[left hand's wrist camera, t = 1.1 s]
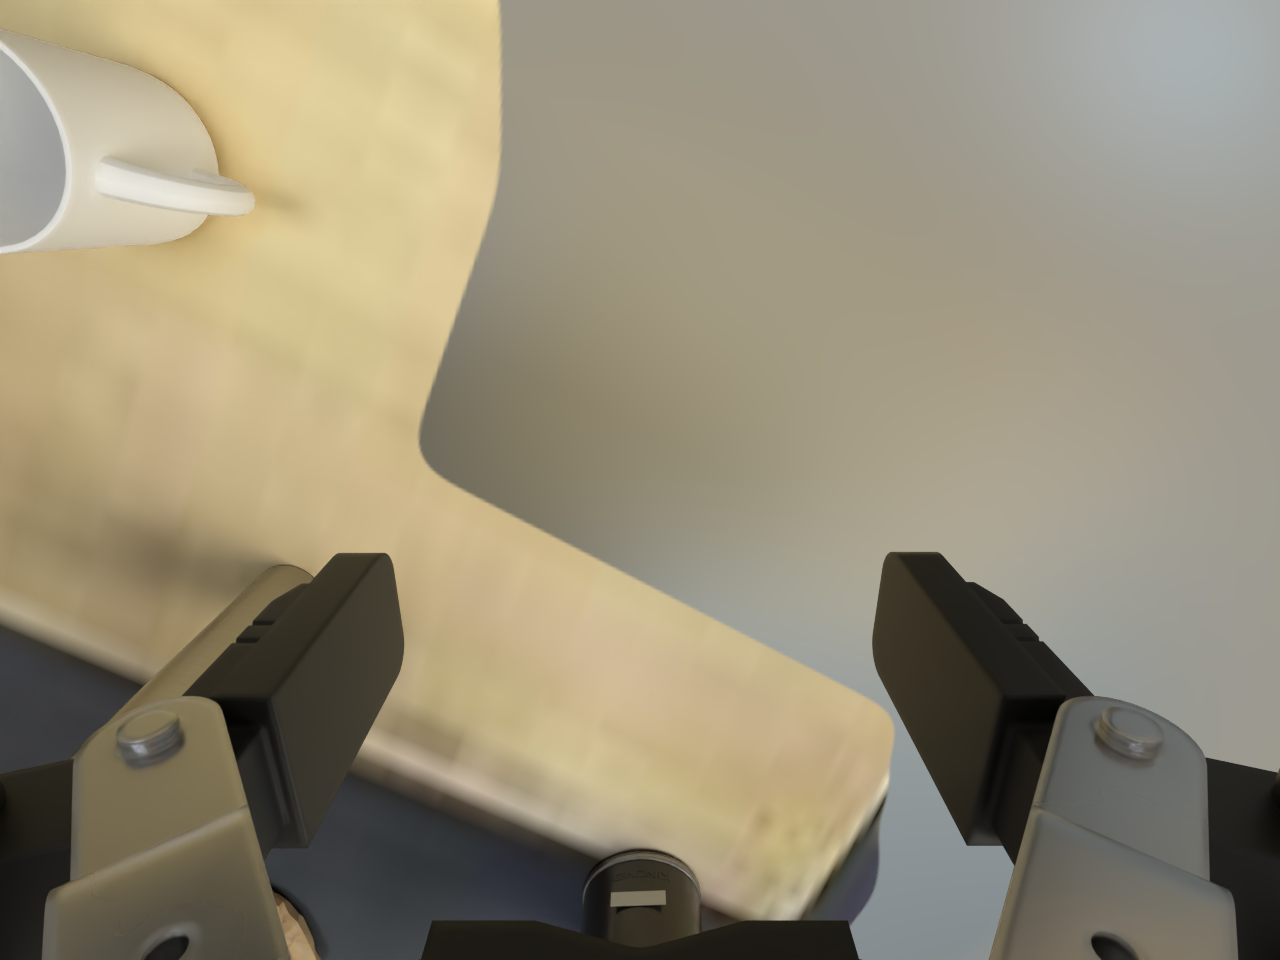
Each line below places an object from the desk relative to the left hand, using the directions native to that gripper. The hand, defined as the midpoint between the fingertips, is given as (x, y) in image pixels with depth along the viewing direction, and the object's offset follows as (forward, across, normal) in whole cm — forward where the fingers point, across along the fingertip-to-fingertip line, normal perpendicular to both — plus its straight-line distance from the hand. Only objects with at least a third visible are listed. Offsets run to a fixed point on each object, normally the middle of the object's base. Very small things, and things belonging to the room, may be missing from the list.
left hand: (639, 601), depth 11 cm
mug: (+29, -24, +8) cm, 39 cm away
